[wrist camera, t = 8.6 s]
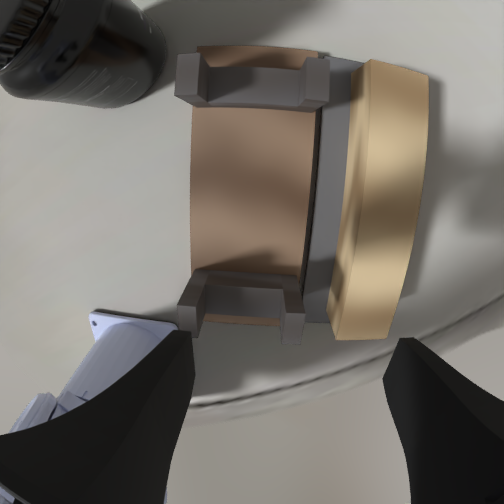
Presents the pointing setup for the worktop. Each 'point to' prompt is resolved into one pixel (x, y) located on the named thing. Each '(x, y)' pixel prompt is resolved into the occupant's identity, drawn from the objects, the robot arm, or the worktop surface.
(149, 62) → the supplement bottle
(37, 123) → the worktop surface
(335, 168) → the mat
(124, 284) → the worktop surface
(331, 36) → the worktop surface
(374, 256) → the rail
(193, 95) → the stand
